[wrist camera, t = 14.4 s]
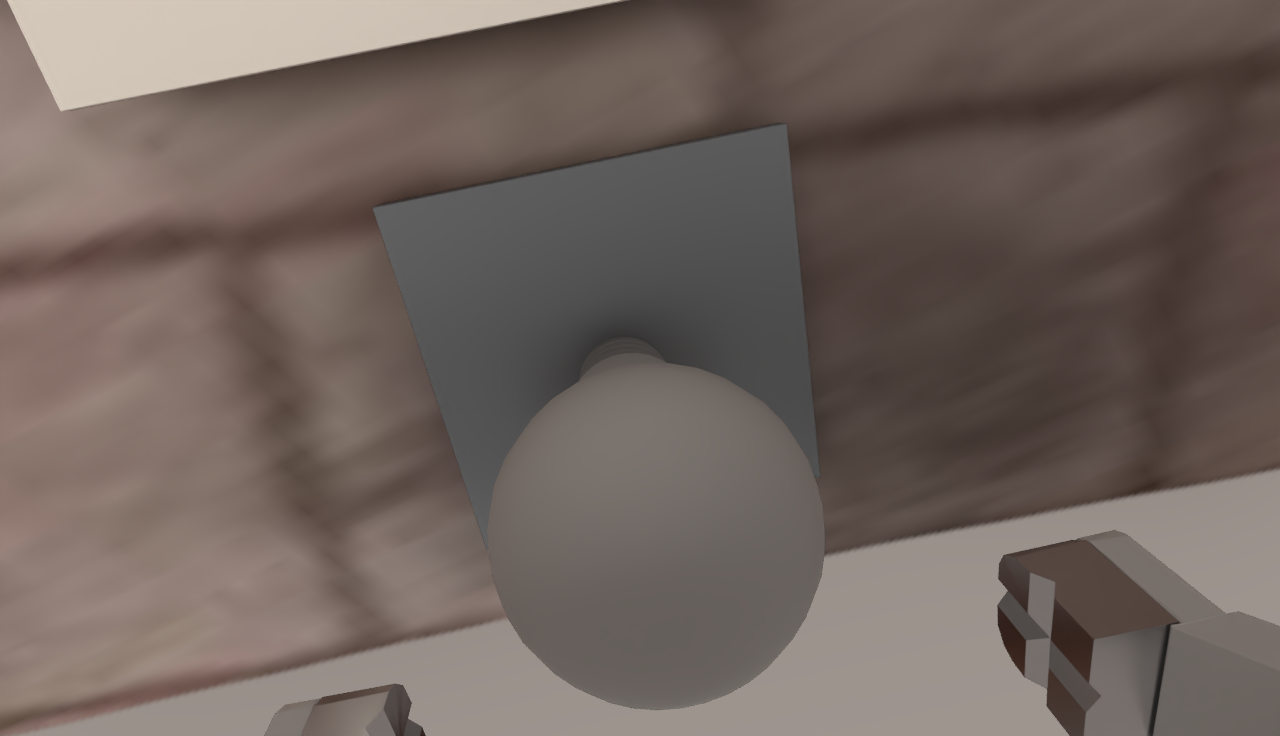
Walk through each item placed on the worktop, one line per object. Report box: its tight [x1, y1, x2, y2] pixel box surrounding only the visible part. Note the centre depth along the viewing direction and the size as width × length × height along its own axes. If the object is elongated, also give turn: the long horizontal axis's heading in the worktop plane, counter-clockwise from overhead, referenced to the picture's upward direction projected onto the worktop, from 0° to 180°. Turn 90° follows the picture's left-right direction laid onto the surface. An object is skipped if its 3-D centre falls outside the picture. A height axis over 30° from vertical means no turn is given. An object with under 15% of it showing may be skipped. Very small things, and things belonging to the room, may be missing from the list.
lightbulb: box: [487, 337, 825, 710], centre depth 15 cm, size 6×6×11 cm
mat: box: [373, 123, 820, 550], centre depth 20 cm, size 11×11×1 cm
